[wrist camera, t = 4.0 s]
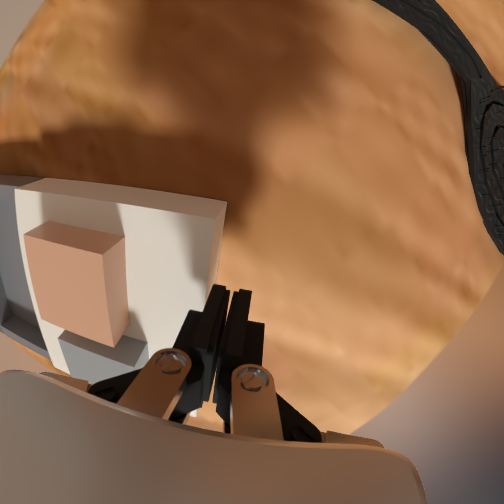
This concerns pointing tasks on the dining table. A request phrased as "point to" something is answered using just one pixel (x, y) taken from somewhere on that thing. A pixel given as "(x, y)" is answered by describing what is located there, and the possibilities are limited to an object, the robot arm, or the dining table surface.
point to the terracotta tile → (79, 280)
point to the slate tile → (101, 356)
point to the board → (135, 249)
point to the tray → (16, 273)
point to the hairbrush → (468, 106)
